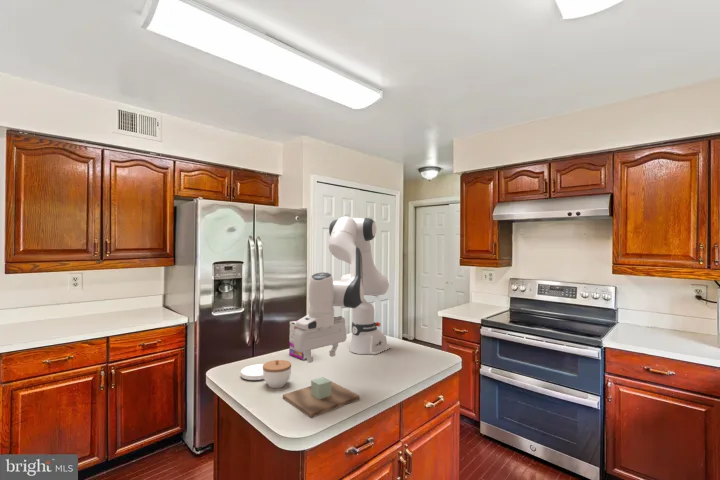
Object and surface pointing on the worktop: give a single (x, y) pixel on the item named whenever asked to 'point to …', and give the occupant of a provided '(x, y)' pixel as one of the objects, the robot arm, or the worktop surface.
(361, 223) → the robot arm
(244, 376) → the white gear
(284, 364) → the lidded jar
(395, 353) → the worktop surface
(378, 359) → the worktop surface
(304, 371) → the worktop surface
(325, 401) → the cutting board
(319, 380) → the sage cube
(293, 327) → the candy bar box
